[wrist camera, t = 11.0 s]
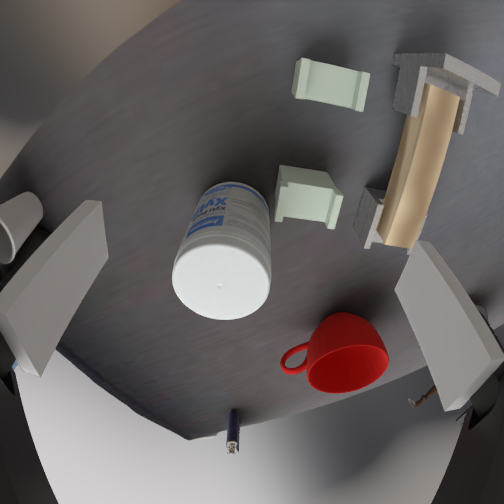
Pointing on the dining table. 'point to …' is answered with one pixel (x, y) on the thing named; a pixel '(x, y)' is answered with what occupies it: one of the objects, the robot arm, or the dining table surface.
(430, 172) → the rail
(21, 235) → the dixie cup
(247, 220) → the supplement tub
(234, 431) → the flask
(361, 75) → the rack
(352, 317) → the ceramic cup
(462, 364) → the robot arm
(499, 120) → the dining table surface
